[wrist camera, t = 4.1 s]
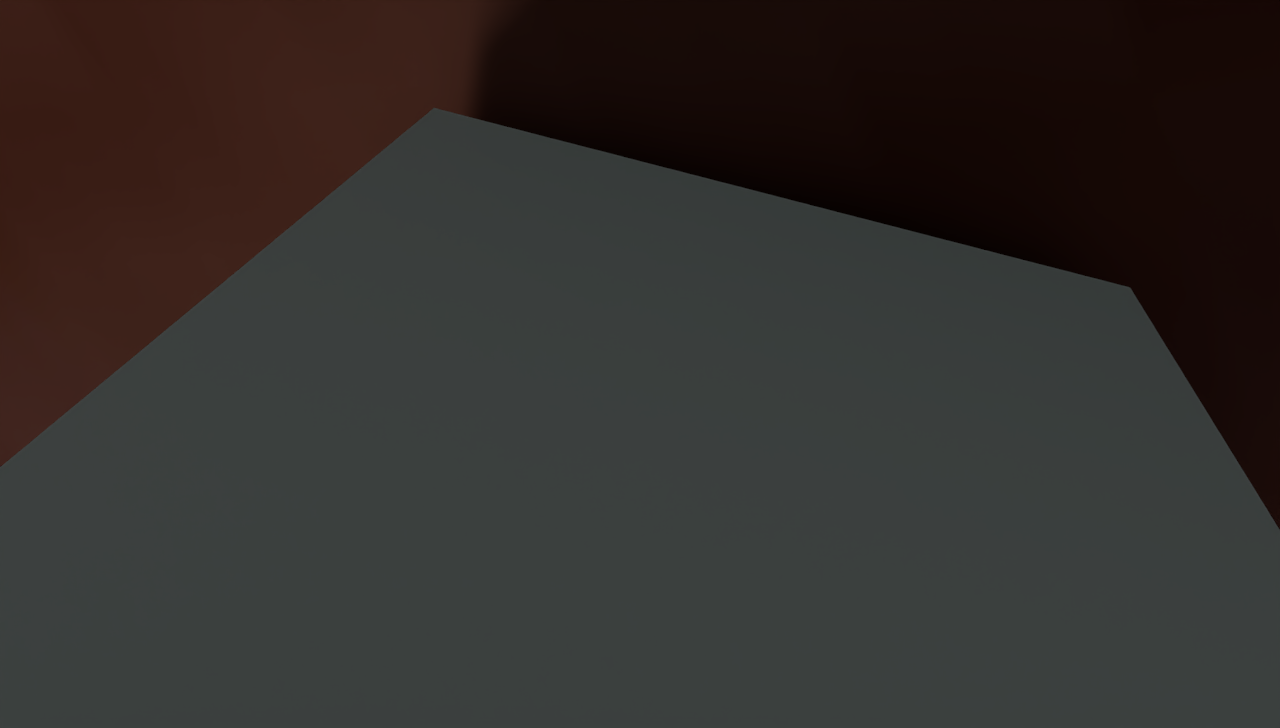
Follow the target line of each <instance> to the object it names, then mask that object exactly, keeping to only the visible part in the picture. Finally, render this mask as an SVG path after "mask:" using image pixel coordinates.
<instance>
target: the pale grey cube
mask: <svg viewBox="0 0 1280 728" xmlns="http://www.w3.org/2000/svg"><path fill="white" fill-rule="evenodd" d="M0 728H1280V530H1279V528H1278V526H1277V525H1276V523H1275V522H1274V520H1273V518H1272V517H1271V515H1270V513H1269V512H1268V510H1267V509H1266V507H1265V505H1264V504H1263V502H1262V500H1261V499H1260V497H1259V496H1258V494H1257V492H1256V491H1255V489H1254V487H1253V486H1252V484H1251V483H1250V481H1249V479H1248V478H1247V476H1246V475H1245V473H1244V471H1243V470H1242V468H1241V466H1240V465H1239V463H1238V462H1237V460H1236V458H1235V457H1234V455H1233V453H1232V452H1231V450H1230V449H1229V447H1228V445H1227V444H1226V442H1225V441H1224V439H1223V437H1222V436H1221V434H1220V432H1219V431H1218V429H1217V428H1216V426H1215V424H1214V423H1213V421H1212V419H1211V418H1210V416H1209V415H1208V413H1207V411H1206V410H1205V408H1204V406H1203V405H1202V403H1201V402H1200V400H1199V398H1198V397H1197V395H1196V394H1195V392H1194V390H1193V389H1192V387H1191V385H1190V384H1189V382H1188V381H1187V379H1186V377H1185V376H1184V374H1183V372H1182V371H1181V369H1180V368H1179V366H1178V364H1177V363H1176V361H1175V360H1174V358H1173V356H1172V355H1171V353H1170V351H1169V350H1168V348H1167V347H1166V345H1165V343H1164V342H1163V340H1162V338H1161V337H1160V335H1159V334H1158V332H1157V330H1156V329H1155V327H1154V325H1153V324H1152V322H1151V321H1150V319H1149V317H1148V316H1147V314H1146V313H1145V311H1144V309H1143V308H1142V306H1141V304H1140V303H1139V301H1138V300H1137V298H1136V296H1135V295H1134V293H1133V291H1132V290H1131V288H1130V287H1126V286H1123V285H1119V284H1115V283H1111V282H1107V281H1103V280H1099V279H1095V278H1092V277H1088V276H1084V275H1080V274H1076V273H1072V272H1068V271H1064V270H1061V269H1057V268H1053V267H1049V266H1045V265H1041V264H1037V263H1033V262H1030V261H1026V260H1022V259H1018V258H1014V257H1010V256H1006V255H1002V254H998V253H995V252H991V251H987V250H983V249H979V248H975V247H971V246H967V245H964V244H960V243H956V242H952V241H948V240H944V239H940V238H936V237H933V236H929V235H925V234H921V233H917V232H913V231H909V230H905V229H902V228H898V227H894V226H890V225H886V224H882V223H878V222H874V221H871V220H867V219H863V218H859V217H855V216H851V215H847V214H843V213H839V212H836V211H832V210H828V209H824V208H820V207H816V206H812V205H808V204H805V203H801V202H797V201H793V200H789V199H785V198H781V197H777V196H774V195H770V194H766V193H762V192H758V191H754V190H750V189H746V188H743V187H739V186H735V185H731V184H727V183H723V182H719V181H715V180H711V179H708V178H704V177H700V176H696V175H692V174H688V173H684V172H680V171H677V170H673V169H669V168H665V167H661V166H657V165H653V164H649V163H646V162H642V161H638V160H634V159H630V158H626V157H622V156H618V155H615V154H611V153H607V152H603V151H599V150H595V149H591V148H587V147H584V146H580V145H576V144H572V143H568V142H564V141H560V140H556V139H552V138H549V137H545V136H541V135H537V134H533V133H529V132H525V131H521V130H518V129H514V128H510V127H506V126H502V125H498V124H494V123H490V122H487V121H483V120H479V119H475V118H471V117H467V116H463V115H459V114H456V113H452V112H448V111H444V110H440V109H436V108H433V109H432V110H431V111H430V112H429V113H427V114H426V115H425V116H424V117H423V118H421V119H420V120H419V121H418V122H417V123H415V124H414V125H413V126H412V127H411V128H409V129H408V130H407V131H406V132H404V133H403V134H402V135H401V136H400V137H398V138H397V139H396V140H395V141H394V142H392V143H391V144H390V145H389V146H388V147H386V148H385V149H384V150H383V151H382V152H380V153H379V154H378V155H377V156H375V157H374V158H373V159H372V160H371V161H369V162H368V163H367V164H366V165H365V166H363V167H362V168H361V169H360V170H359V171H357V172H356V173H355V174H354V175H353V176H351V177H350V178H349V179H348V180H347V181H345V182H344V183H343V184H342V185H340V186H339V187H338V188H337V189H336V190H334V191H333V192H332V193H331V194H330V195H328V196H327V197H326V198H325V199H324V200H322V201H321V202H320V203H319V204H318V205H316V206H315V207H314V208H313V209H312V210H310V211H309V212H308V213H307V214H305V215H304V216H303V217H302V218H301V219H299V220H298V221H297V222H296V223H295V224H293V225H292V226H291V227H290V228H289V229H287V230H286V231H285V232H284V233H283V234H281V235H280V236H279V237H278V238H276V239H275V240H274V241H273V242H272V243H270V244H269V245H268V246H267V247H266V248H264V249H263V250H262V251H261V252H260V253H258V254H257V255H256V256H255V257H254V258H252V259H251V260H250V261H249V262H248V263H246V264H245V265H244V266H243V267H241V268H240V269H239V270H238V271H237V272H235V273H234V274H233V275H232V276H231V277H229V278H228V279H227V280H226V281H225V282H223V283H222V284H221V285H220V286H219V287H217V288H216V289H215V290H214V291H213V292H211V293H210V294H209V295H208V296H206V297H205V298H204V299H203V300H202V301H200V302H199V303H198V304H197V305H196V306H194V307H193V308H192V309H191V310H190V311H188V312H187V313H186V314H185V315H184V316H182V317H181V318H180V319H179V320H178V321H176V322H175V323H174V324H173V325H171V326H170V327H169V328H168V329H167V330H165V331H164V332H163V333H162V334H161V335H159V336H158V337H157V338H156V339H155V340H153V341H152V342H151V343H150V344H149V345H147V346H146V347H145V348H144V349H142V350H141V351H140V352H139V353H138V354H136V355H135V356H134V357H133V358H132V359H130V360H129V361H128V362H127V363H126V364H124V365H123V366H122V367H121V368H120V369H118V370H117V371H116V372H115V373H114V374H112V375H111V376H110V377H109V378H107V379H106V380H105V381H104V382H103V383H101V384H100V385H99V386H98V387H97V388H95V389H94V390H93V391H92V392H91V393H89V394H88V395H87V396H86V397H85V398H83V399H82V400H81V401H80V402H79V403H77V404H76V405H75V406H74V407H72V408H71V409H70V410H69V411H68V412H66V413H65V414H64V415H63V416H62V417H60V418H59V419H58V420H57V421H56V422H54V423H53V424H52V425H51V426H50V427H48V428H47V429H46V430H45V431H43V432H42V433H41V434H40V435H39V436H37V437H36V438H35V439H34V440H33V441H31V442H30V443H29V444H28V445H27V446H25V447H24V448H23V449H22V450H21V451H19V452H18V453H17V454H16V455H15V456H13V457H12V458H11V459H10V460H8V461H7V462H6V463H5V464H4V465H2V466H1V467H0Z"/></svg>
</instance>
